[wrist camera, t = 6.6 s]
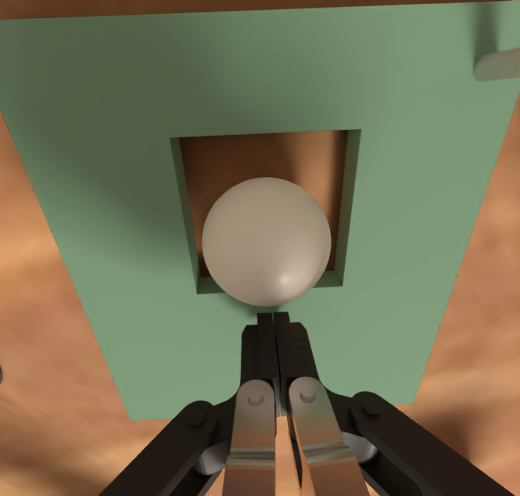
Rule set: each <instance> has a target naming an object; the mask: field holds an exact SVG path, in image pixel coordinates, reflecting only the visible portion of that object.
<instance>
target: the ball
mask: <svg viewBox="0 0 520 496" xmlns="http://www.w3.org/2000/svg"><path fill="white" fill-rule="evenodd" d="M202 250H203V256H204V260H205V263H206V266H207V268H208V270H209V272H210V274H211V276H212V277H213V279H214V280H215V282H216V283H217V284H218V285H219V286H220V287H221V288H222V289H223V290H224V291H225V292H226V293H228V294H229V295H230V296H232V297H234V298H235V299H237V300H239V301H241V302H244V303H247V304H250V305H255V306H263V307H270V306H278V305H283V304H286V303H289V302H292V301H294V300H296V299H298V298H299V297H301V296H303V295H304V294H305V293H307V292H308V291H309V290H310V289H311V288H312V287H313V286H314V285H315V284H316V283H317V282H318V280H319V279H320V277H321V276H322V274H323V272H324V270H325V268H326V266H327V263H328V260H329V256H330V251H331V234H330V228H329V224H328V221H327V218H326V216H325V214H324V212H323V210H322V208H321V207H320V205H319V204H318V202H317V201H316V200H315V199H314V198H313V197H312V196H311V195H310V194H309V193H308V192H307V191H306V190H304V189H303V188H301V187H300V186H298V185H296V184H294V183H292V182H289V181H286V180H283V179H279V178H271V177H262V178H254V179H250V180H246V181H244V182H241V183H239V184H237V185H235V186H233V187H232V188H230V189H229V190H227V191H226V192H225V193H224V194H223V195H222V196H221V197H220V198H219V199H218V200H217V201H216V202H215V204H214V205H213V207H212V208H211V210H210V212H209V213H208V216H207V218H206V221H205V223H204V228H203V233H202Z"/></svg>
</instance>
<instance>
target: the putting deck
mask: <svg viewBox="0 0 520 496" xmlns="http://www.w3.org/2000/svg"><path fill="white" fill-rule="evenodd" d="M519 94H520V1H493V2H466V3H439V4H412V5H385V6H358V7H331V8H304V9H277V10H249V11H222V12H195V13H168V14H141V15H114V16H87V17H60V18H33V19H6V20H0V110H1V113H2V115H3V118H4V120H5V122H6V125H7V127H8V130H9V132H10V134H11V137H12V139H13V141H14V144H15V146H16V149H17V151H18V153H19V156H20V158H21V161H22V163H23V165H24V168H25V170H26V172H27V175H28V177H29V180H30V182H31V184H32V187H33V189H34V192H35V194H36V196H37V199H38V201H39V203H40V206H41V208H42V211H43V213H44V215H45V218H46V220H47V222H48V225H49V227H50V230H51V232H52V234H53V237H54V239H55V242H56V244H57V246H58V249H59V251H60V253H61V256H62V258H63V261H64V263H65V265H66V268H67V270H68V273H69V275H70V277H71V280H72V282H73V284H74V287H75V289H76V292H77V294H78V296H79V299H80V301H81V304H82V306H83V308H84V311H85V313H86V315H87V318H88V320H89V323H90V325H91V327H92V330H93V332H94V335H95V337H96V339H97V342H98V344H99V346H100V349H101V351H102V354H103V356H104V358H105V361H106V363H107V366H108V368H109V370H110V373H111V375H112V377H113V380H114V382H115V385H116V387H117V389H118V392H119V394H120V397H121V399H122V401H123V404H124V406H125V408H126V411H127V413H128V416H129V418H130V420H131V421H139V420H155V419H171V418H175V416H176V415H177V414H178V413H179V412H180V411H181V410H182V409H183V408H184V407H185V406H187V405H188V404H190V403H192V402H194V401H198V400H204V401H208V402H210V403H211V404H212V405H213V406H214V405H216V404H219V403H221V402H224V401H226V400H228V399H230V398H231V397H232V396H233V395H234V394H235V393H236V392H237V390H238V388H239V386H240V375H241V337H242V332H243V330H244V328H245V326H246V325H255V324H257V313H269V312H272V318H273V312H286V311H288V313H289V318H290V322H301V324H302V325H303V326H304V327H305V328H306V330H307V333H308V337H309V341H310V345H311V349H312V352H313V356H314V360H315V364H316V368H317V372H318V376H319V379H320V381H321V382H322V384H323V385H324V386H325V387H326V388H327V389H329V390H330V391H332V392H334V393H337V394H340V395H344V396H348V397H353V396H354V395H355V394H356V393H358V392H361V391H369V392H373V393H375V394H377V395H379V396H381V397H382V398H383V399H385V400H386V401H387V402H389V403H390V404H392V405H397V404H413V402H414V400H415V397H416V394H417V391H418V388H419V385H420V382H421V379H422V376H423V373H424V370H425V367H426V365H427V362H428V359H429V356H430V353H431V350H432V347H433V344H434V341H435V338H436V335H437V332H438V330H439V327H440V324H441V321H442V318H443V315H444V312H445V309H446V306H447V303H448V300H449V298H450V295H451V292H452V289H453V286H454V283H455V280H456V277H457V274H458V271H459V268H460V265H461V263H462V260H463V257H464V254H465V251H466V248H467V245H468V242H469V239H470V236H471V233H472V231H473V228H474V225H475V222H476V219H477V216H478V213H479V210H480V207H481V204H482V201H483V198H484V196H485V193H486V190H487V187H488V184H489V181H490V178H491V175H492V172H493V169H494V166H495V163H496V161H497V158H498V155H499V152H500V149H501V146H502V143H503V140H504V137H505V134H506V131H507V129H508V126H509V123H510V120H511V117H512V114H513V111H514V108H515V105H516V102H517V99H518V96H519ZM328 130H348V136H347V146H346V156H345V166H344V176H343V186H342V196H341V206H340V216H339V226H338V236H337V246H336V256H335V266H334V270H324V272H323V274H322V276H321V277H320V279H319V280H318V282H317V283H316V284H315V285H314V286H313V287H312V288H311V289H310V290H309V291H308V292H307V293H305V294H304V295H303V296H301V297H299V298H298V299H296V300H294V301H292V302H289V303H286V304H283V305H278V306H270V307H263V306H255V305H250V304H247V303H244V302H241V301H239V300H237V299H235V298H234V297H232V296H230V295H229V294H228V293H226V292H225V291H224V290H223V289H222V288H221V287H220V286H219V285H218V284H217V283H216V282H215V280H214V279H213V277H212V276H210V277H201V272H200V265H199V259H198V253H197V247H196V240H195V234H194V228H193V222H192V216H191V209H190V203H189V197H188V191H187V184H186V178H185V172H184V166H183V160H182V153H181V147H180V141H179V137H193V136H216V135H238V134H261V133H283V132H306V131H328ZM280 412H281V408H280Z"/></svg>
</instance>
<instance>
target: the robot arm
mask: <svg viewBox="0 0 520 496" xmlns="http://www.w3.org/2000/svg"><path fill="white" fill-rule="evenodd" d="M280 408H281V416H287V420H288V437H289V443H290V448H291V453H292V458H293V463H294V469H295V474H296V479H297V484H298V489H299V495H300V496H370V494H369V491H368V489H367V486H366V483H365V481H366V482H367V483H368V484H369V485H370V486H371V487H372V488H373V489H374V490H375V491H376V492H377V493H378V494H379V495H380V496H515V495H513V494H512V493H511V492H509V491H508V490H507V489H505V488H504V487H502V486H501V485H500V484H498V483H497V482H496V481H494V480H493V479H492V478H490V477H489V476H488V475H486V474H485V473H484V472H482V471H481V470H479V469H478V468H477V467H475V466H474V465H473V464H471V463H470V462H469V461H467V460H466V459H465V458H463V457H462V456H461V455H459V454H458V453H456V452H455V451H454V450H452V449H451V448H450V447H448V446H447V445H446V444H444V443H443V442H442V441H440V440H439V439H438V438H436V437H435V436H433V435H432V434H431V433H429V432H428V431H427V430H425V429H424V428H423V427H421V426H420V425H419V424H417V423H416V422H415V421H413V420H412V419H410V418H409V417H408V416H406V415H405V414H404V413H402V412H401V411H400V410H398V409H397V408H396V407H394V406H393V405H392V404H390V403H389V402H387V401H386V400H385V399H383V398H382V397H381V396H379V395H377V394H375V393H373V392H369V391H361V392H358V393H356V394H355V395H354V396H353V397H348V396H344V395H340V394H337V393H334V392H332V391H330V390H329V389H327V388H326V387H325V386H324V385H323V384H322V382H321V381H320V379H319V376H318V372H317V368H316V364H315V360H314V356H313V352H312V349H311V345H310V341H309V337H308V333H307V330H306V328H305V327H304V326H303V325H302V324H301V322H290V318H289V313H288V311H286V312H273V318H272V312H269V313H257V324H255V325H246V326H245V328H244V330H243V332H242V337H241V375H240V386H239V388H238V390H237V392H236V393H235V394H234V395H233V396H232V397H231V398H230V399H228V400H226V401H224V402H221V403H219V404H216V405H214V406H213V405H212V404H211V403H210V402H208V401H204V400H198V401H194V402H192V403H190V404H188V405H187V406H185V407H184V408H183V409H182V410H181V411H180V412H179V413H178V414H177V415H176V416H175V418H174V419H173V420H172V421H171V422H170V423H169V424H168V425H167V426H166V427H165V428H164V429H163V430H162V431H161V432H160V433H159V434H158V435H157V436H156V437H155V438H154V439H153V440H152V441H151V442H150V443H149V444H148V445H147V446H146V447H145V448H144V449H143V450H142V451H141V453H140V454H139V455H138V456H137V457H136V458H135V459H134V460H133V461H132V462H131V463H130V464H129V465H128V466H127V467H126V468H125V469H124V470H123V471H122V472H121V473H120V474H119V475H118V476H117V477H116V478H115V479H114V480H113V481H112V482H111V483H110V484H109V485H108V486H107V488H106V489H105V490H104V491H103V492H102V493H101V494H100V495H99V496H204V495H205V494H206V493H207V491H208V490H209V488H210V487H211V486H212V484H213V483H214V481H215V480H216V479H217V477H218V476H219V474H220V473H221V471H222V469H223V468H225V474H224V482H223V490H222V496H276V472H275V438H276V434H277V424H276V417H280ZM364 480H365V481H364Z"/></svg>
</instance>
